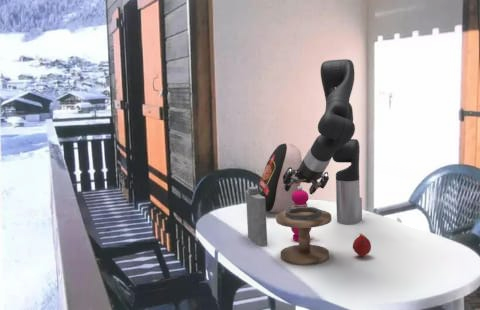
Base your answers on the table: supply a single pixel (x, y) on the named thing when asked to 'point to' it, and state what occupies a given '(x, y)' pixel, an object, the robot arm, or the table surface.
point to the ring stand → (304, 235)
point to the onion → (362, 245)
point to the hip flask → (256, 217)
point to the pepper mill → (299, 201)
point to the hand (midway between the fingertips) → (298, 190)
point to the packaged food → (279, 178)
